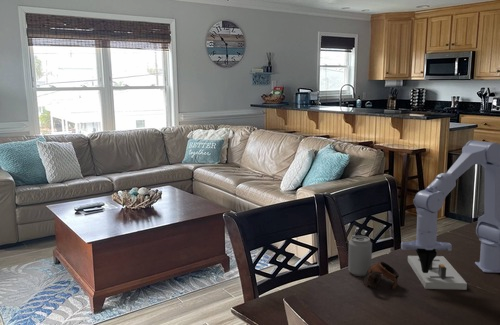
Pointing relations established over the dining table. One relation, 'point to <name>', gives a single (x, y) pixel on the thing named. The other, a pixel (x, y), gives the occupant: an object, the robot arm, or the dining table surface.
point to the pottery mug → (375, 274)
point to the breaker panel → (432, 277)
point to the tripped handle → (442, 271)
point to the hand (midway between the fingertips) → (424, 271)
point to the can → (359, 255)
